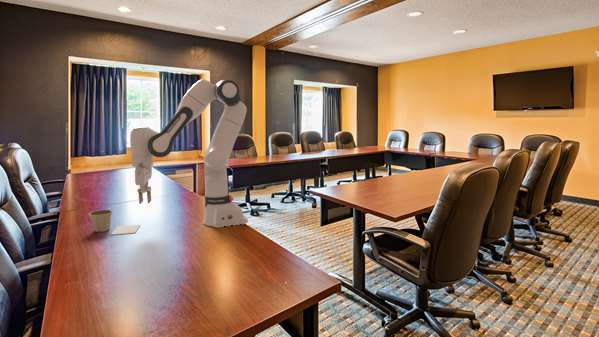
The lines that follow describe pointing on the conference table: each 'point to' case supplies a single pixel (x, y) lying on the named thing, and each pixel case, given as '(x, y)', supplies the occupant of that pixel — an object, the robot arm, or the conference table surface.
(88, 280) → the conference table surface
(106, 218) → the flower pot
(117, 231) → the mat
